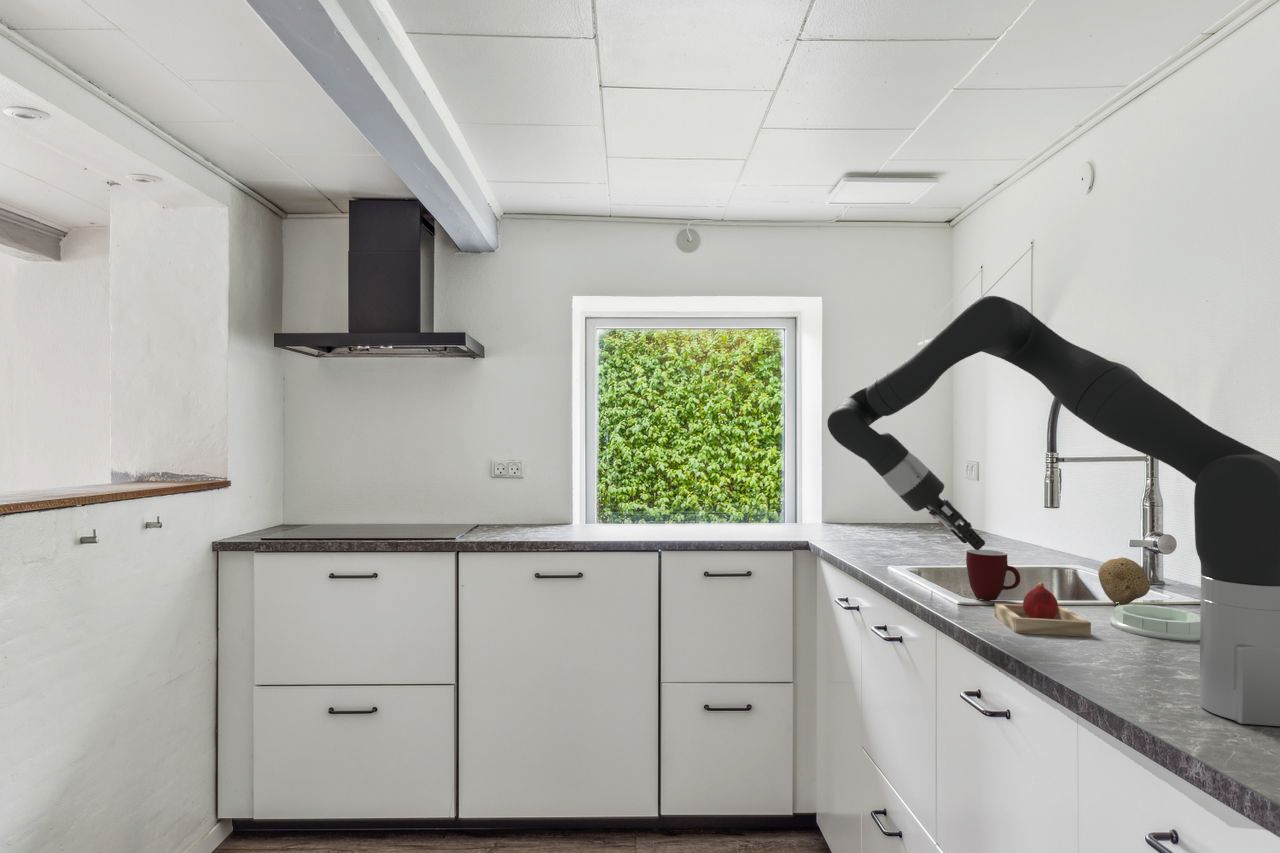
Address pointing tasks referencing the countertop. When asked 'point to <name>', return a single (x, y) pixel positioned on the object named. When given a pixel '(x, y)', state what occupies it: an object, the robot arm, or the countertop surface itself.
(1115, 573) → the natural sponge
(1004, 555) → the mug
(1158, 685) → the countertop surface
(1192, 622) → the dish
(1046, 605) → the onion
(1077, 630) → the holder
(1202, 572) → the robot arm
